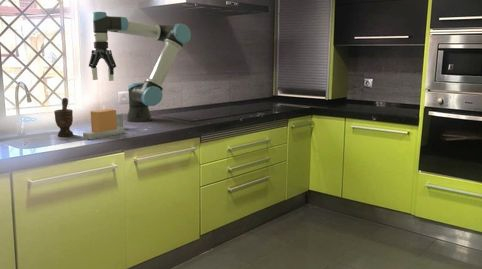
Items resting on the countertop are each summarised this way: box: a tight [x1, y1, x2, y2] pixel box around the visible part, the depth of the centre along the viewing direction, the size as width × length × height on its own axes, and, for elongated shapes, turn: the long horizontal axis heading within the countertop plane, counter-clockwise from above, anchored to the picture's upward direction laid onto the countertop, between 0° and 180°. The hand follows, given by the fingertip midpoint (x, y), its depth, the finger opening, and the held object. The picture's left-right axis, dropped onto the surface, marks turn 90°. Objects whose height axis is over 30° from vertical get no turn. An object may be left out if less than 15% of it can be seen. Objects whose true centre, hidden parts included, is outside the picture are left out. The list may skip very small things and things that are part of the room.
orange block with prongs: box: [90, 108, 117, 132], centre depth 224 cm, size 11×6×13 cm, turn 146°
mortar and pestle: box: [54, 97, 74, 137], centre depth 224 cm, size 12×9×20 cm
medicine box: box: [116, 112, 124, 127], centre depth 245 cm, size 8×4×9 cm, turn 92°
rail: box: [82, 126, 126, 140], centre depth 225 cm, size 22×5×3 cm, turn 146°
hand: (103, 80), depth 244 cm, fingers open, 13 cm apart
